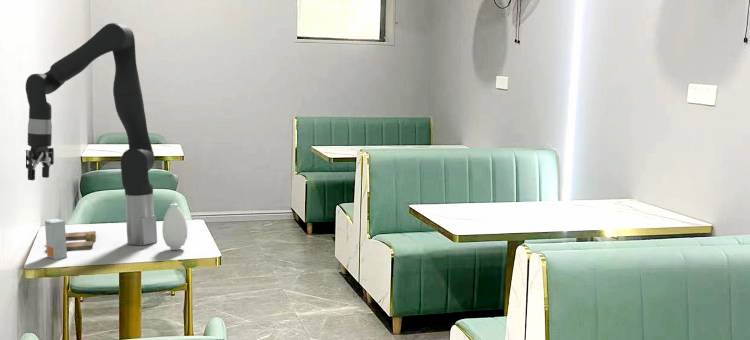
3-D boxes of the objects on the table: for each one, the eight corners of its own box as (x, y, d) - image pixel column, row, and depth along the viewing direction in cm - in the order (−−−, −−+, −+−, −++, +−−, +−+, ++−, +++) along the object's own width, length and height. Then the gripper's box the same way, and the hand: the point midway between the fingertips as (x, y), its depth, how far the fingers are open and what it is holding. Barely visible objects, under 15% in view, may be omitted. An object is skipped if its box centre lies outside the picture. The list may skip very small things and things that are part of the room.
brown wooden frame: (97, 234, 271) (96, 225, 270) (93, 248, 248) (93, 239, 248) (54, 237, 266) (53, 228, 266) (46, 252, 244) (46, 242, 243)
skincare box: (46, 256, 238) (44, 220, 236) (60, 254, 241) (57, 218, 239) (54, 259, 233) (51, 222, 232) (67, 257, 236) (65, 220, 235)
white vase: (174, 253, 241) (172, 198, 239) (158, 250, 245) (156, 196, 243) (192, 248, 248) (190, 195, 245) (176, 245, 252) (174, 193, 249)
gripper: (38, 134, 246) (36, 182, 248) (61, 132, 260) (60, 177, 262) (17, 132, 247) (16, 180, 249) (41, 130, 261) (40, 175, 263)
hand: (38, 178), depth 256 cm, fingers open, 8 cm apart
